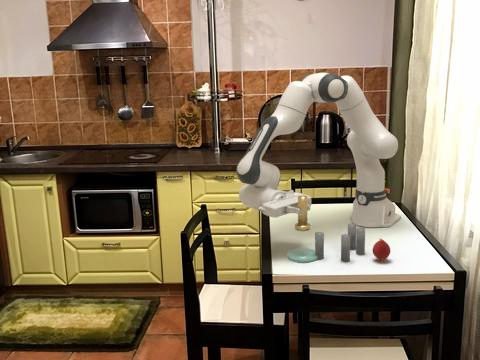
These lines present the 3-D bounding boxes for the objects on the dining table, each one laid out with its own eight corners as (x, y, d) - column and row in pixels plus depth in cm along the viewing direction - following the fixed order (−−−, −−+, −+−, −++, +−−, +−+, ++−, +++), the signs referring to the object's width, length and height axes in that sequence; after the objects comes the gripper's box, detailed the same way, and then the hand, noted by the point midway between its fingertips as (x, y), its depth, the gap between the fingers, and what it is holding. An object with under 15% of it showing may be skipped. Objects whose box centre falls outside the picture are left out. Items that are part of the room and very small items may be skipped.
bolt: (301, 225, 189) (301, 193, 187) (313, 228, 186) (313, 196, 183) (291, 228, 186) (292, 196, 183) (303, 232, 182) (303, 199, 180)
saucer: (300, 248, 196) (300, 245, 195) (325, 256, 188) (325, 253, 188) (280, 257, 188) (280, 254, 188) (304, 265, 181) (304, 262, 180)
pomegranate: (387, 257, 185) (387, 235, 184) (392, 263, 180) (393, 241, 178) (370, 257, 185) (370, 235, 183) (375, 264, 180) (375, 241, 178)
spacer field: (343, 244, 199) (344, 221, 197) (369, 251, 191) (370, 227, 189) (313, 258, 187) (313, 233, 185) (339, 266, 179) (339, 240, 177)
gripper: (254, 199, 186) (284, 207, 176) (293, 188, 199) (323, 195, 190) (254, 217, 187) (284, 225, 177) (293, 205, 201) (322, 212, 191)
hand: (304, 209), depth 184 cm, fingers closed on bolt, 3 cm apart
